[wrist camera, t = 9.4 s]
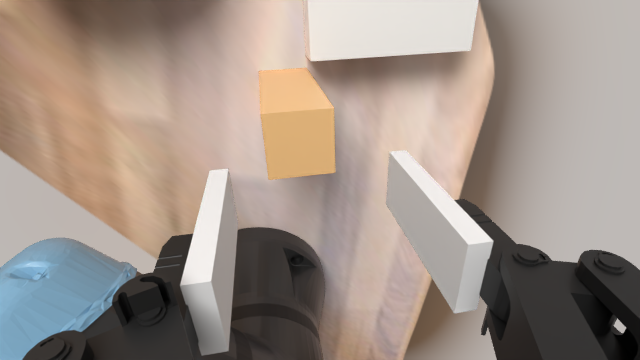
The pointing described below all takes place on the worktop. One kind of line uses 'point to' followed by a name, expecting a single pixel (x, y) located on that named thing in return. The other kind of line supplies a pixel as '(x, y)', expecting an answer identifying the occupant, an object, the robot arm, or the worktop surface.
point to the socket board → (386, 27)
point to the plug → (296, 124)
